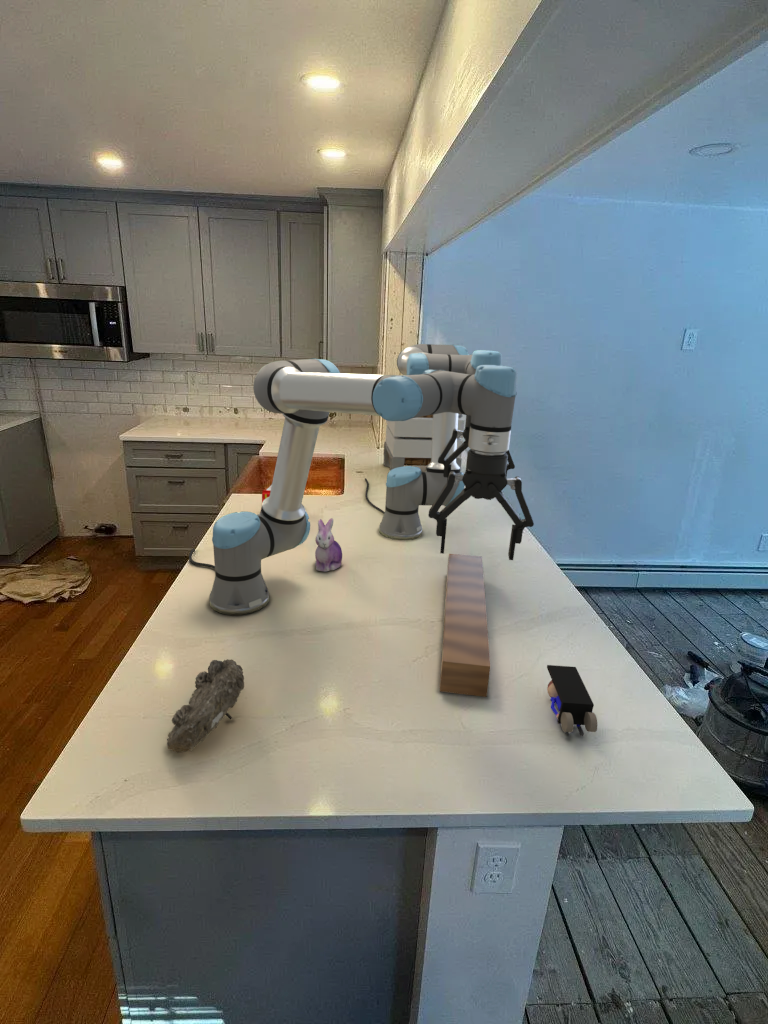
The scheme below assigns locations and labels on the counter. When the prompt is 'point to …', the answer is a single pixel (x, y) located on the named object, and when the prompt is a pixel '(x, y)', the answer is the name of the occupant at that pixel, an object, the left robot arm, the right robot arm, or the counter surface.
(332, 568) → the figurine
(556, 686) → the figurine character
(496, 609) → the counter surface
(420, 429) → the light grey slatted crate
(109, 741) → the counter surface
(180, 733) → the fossil
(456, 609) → the slab
